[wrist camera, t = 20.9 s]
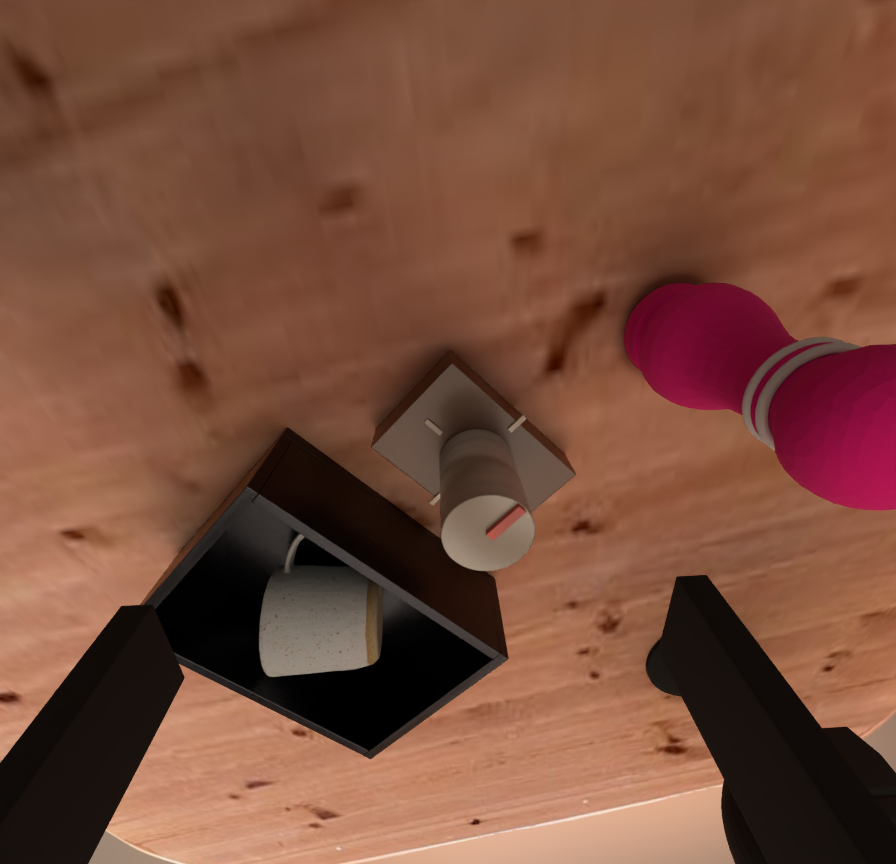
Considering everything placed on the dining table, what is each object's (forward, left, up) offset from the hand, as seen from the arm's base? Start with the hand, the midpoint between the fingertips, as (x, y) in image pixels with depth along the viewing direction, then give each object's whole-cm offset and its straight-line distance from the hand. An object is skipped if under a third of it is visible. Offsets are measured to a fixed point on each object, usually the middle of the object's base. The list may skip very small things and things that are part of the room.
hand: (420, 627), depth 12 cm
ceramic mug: (+5, -18, -21) cm, 28 cm away
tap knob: (+6, -2, -19) cm, 20 cm away
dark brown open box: (+6, -18, -22) cm, 29 cm away
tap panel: (+6, -2, -22) cm, 23 cm away
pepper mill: (+10, +13, -22) cm, 28 cm away
